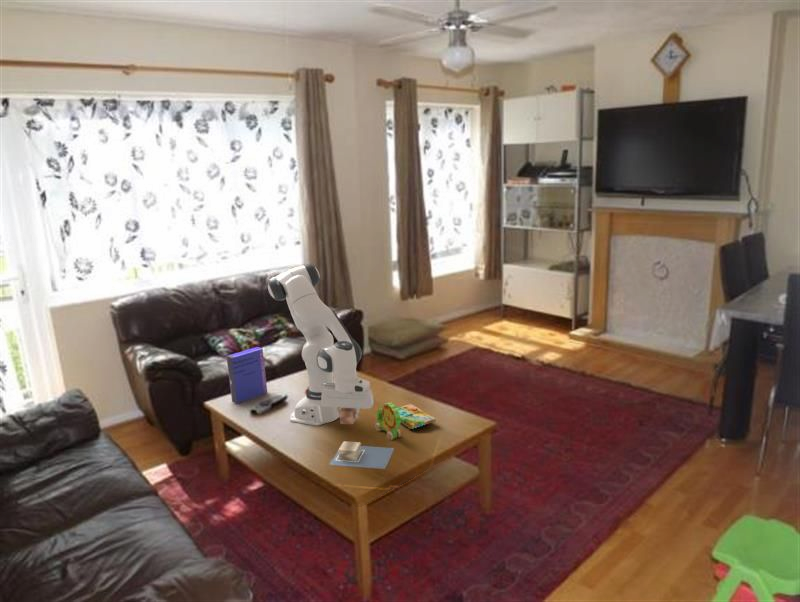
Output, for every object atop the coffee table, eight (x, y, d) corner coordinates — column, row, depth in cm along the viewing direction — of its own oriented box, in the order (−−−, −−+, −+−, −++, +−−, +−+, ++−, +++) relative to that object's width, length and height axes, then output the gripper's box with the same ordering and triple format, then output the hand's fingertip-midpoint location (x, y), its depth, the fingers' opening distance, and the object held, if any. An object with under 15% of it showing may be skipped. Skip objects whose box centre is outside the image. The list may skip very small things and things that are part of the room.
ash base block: (338, 459, 222) (338, 449, 221) (344, 450, 228) (343, 441, 227) (356, 460, 220) (355, 451, 219) (361, 451, 227) (360, 442, 226)
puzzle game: (410, 401, 263) (435, 416, 246) (410, 411, 264) (436, 427, 247) (388, 408, 257) (413, 424, 240) (389, 418, 258) (413, 434, 241)
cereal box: (262, 390, 296) (257, 346, 290) (267, 392, 293) (262, 348, 287) (231, 401, 284) (226, 355, 278) (237, 403, 281) (231, 357, 275)
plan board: (329, 466, 218) (329, 464, 218) (342, 446, 233) (341, 444, 233) (385, 470, 213) (384, 468, 213) (394, 449, 229) (394, 447, 228)
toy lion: (374, 430, 246) (372, 397, 242) (384, 426, 249) (383, 394, 245) (393, 444, 233) (392, 410, 229) (404, 440, 236) (403, 406, 232)
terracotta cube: (340, 423, 219) (339, 411, 218) (344, 417, 224) (343, 406, 223) (352, 424, 218) (352, 412, 217) (356, 418, 223) (355, 406, 222)
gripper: (317, 385, 216) (319, 419, 220) (369, 388, 212) (371, 422, 215) (322, 379, 222) (325, 412, 226) (373, 381, 218) (375, 415, 221)
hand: (348, 417), depth 221 cm, fingers closed on terracotta cube, 5 cm apart
